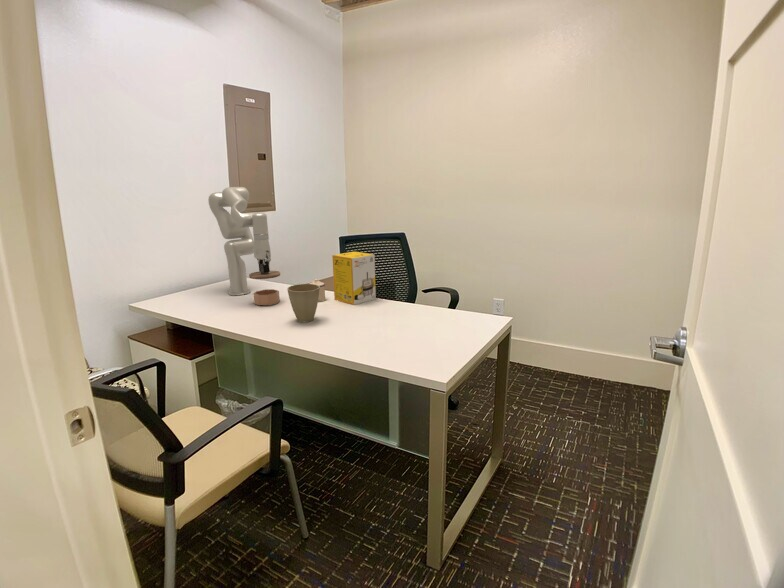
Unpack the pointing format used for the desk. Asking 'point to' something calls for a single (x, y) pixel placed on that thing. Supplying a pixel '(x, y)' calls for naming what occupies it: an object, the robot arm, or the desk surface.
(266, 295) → the bowl
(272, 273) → the lid
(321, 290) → the teacup with lid
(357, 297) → the packaging box
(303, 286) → the plant pot
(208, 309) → the desk surface
